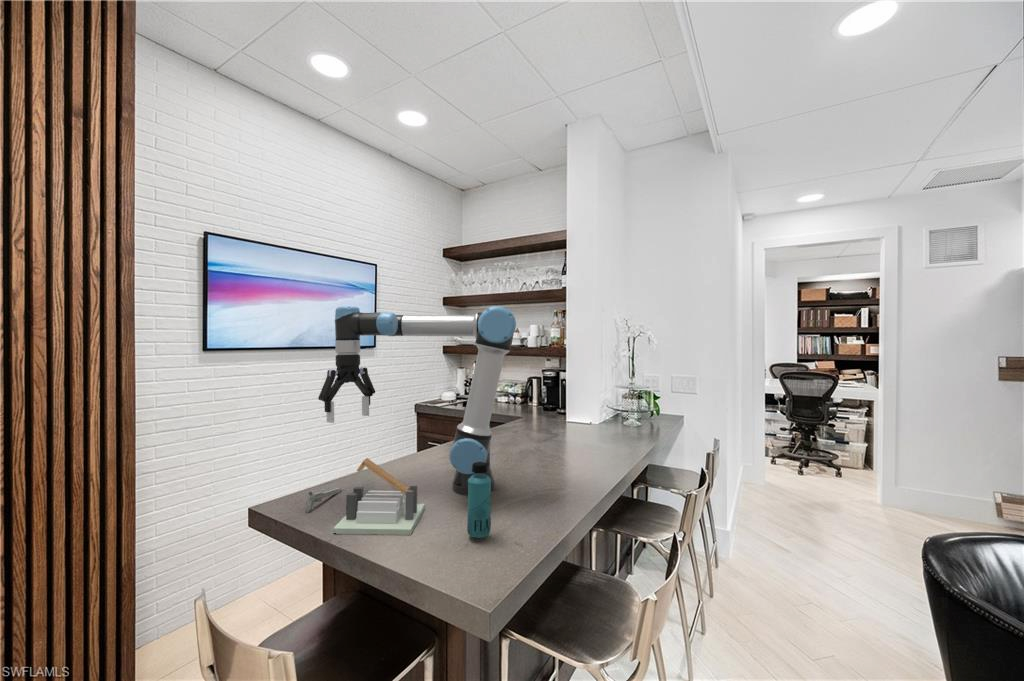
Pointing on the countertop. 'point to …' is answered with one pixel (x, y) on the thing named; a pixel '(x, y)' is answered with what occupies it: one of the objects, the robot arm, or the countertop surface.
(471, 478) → the beverage bottle
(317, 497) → the caliper
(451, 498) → the countertop surface
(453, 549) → the countertop surface
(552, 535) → the countertop surface
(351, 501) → the processor board
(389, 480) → the bar
